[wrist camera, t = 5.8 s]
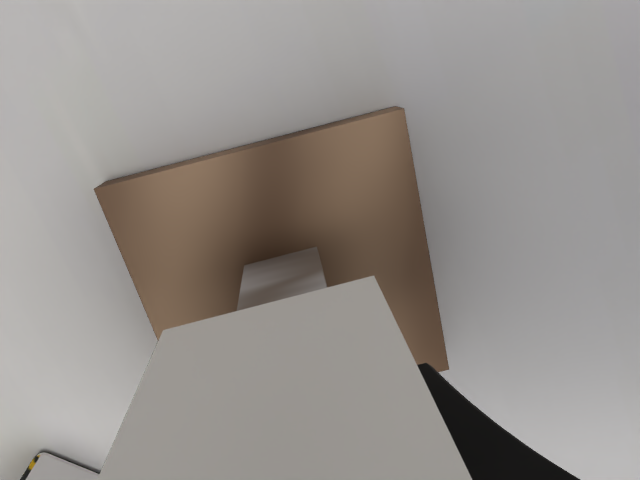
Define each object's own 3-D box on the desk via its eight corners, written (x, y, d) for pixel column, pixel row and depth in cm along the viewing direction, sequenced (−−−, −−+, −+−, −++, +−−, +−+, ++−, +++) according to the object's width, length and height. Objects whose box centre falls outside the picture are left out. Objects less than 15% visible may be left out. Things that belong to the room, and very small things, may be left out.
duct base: (395, 106, 17) (449, 121, 12) (439, 353, 21) (495, 449, 16) (105, 181, 17) (28, 230, 12) (202, 415, 21) (176, 532, 16)
